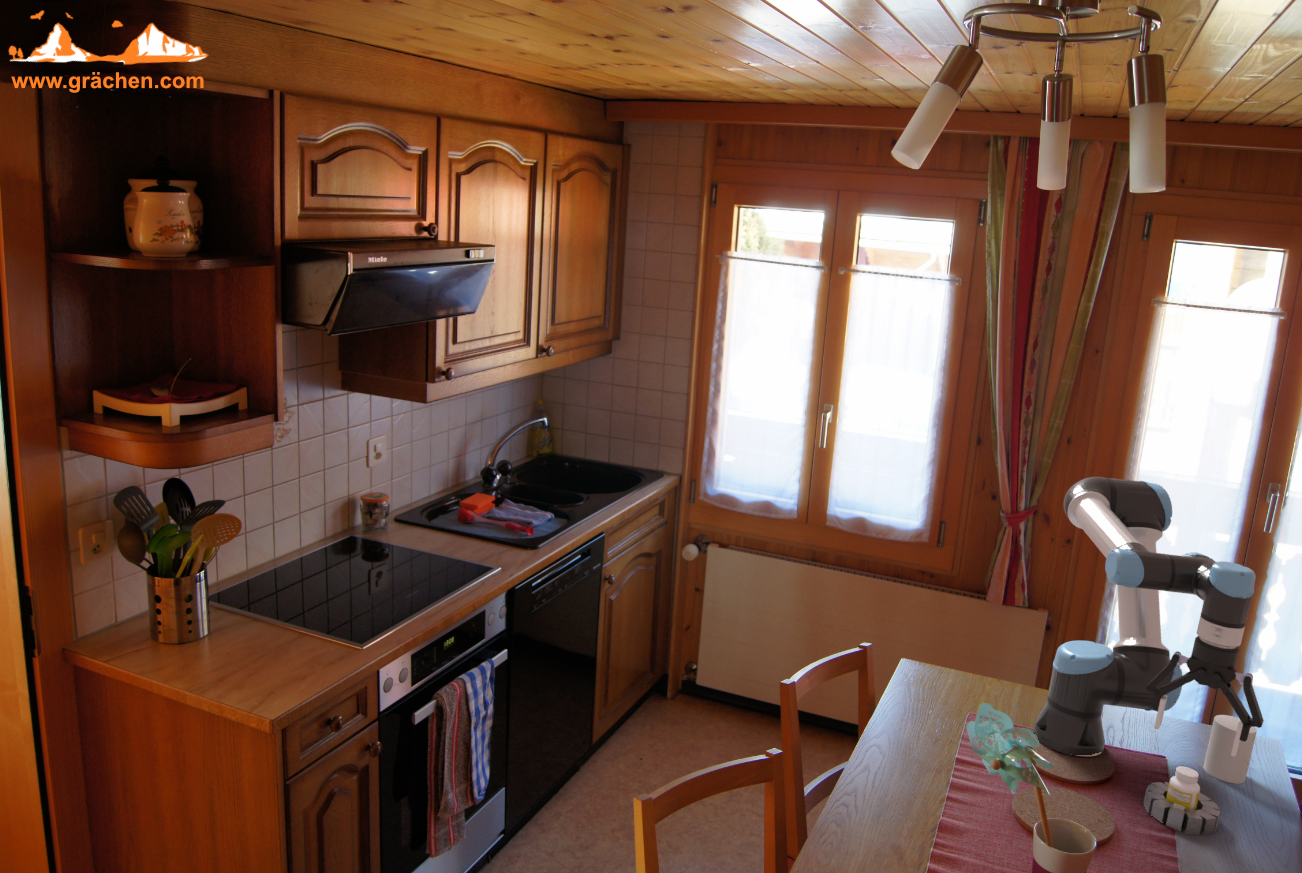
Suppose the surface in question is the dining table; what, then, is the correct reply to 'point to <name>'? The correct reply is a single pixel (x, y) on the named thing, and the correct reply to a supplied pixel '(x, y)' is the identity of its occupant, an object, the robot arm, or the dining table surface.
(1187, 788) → the supplement bottle
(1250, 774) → the dining table surface
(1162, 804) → the grey segmented ring
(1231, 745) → the white cylinder
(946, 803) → the dining table surface
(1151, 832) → the dining table surface
